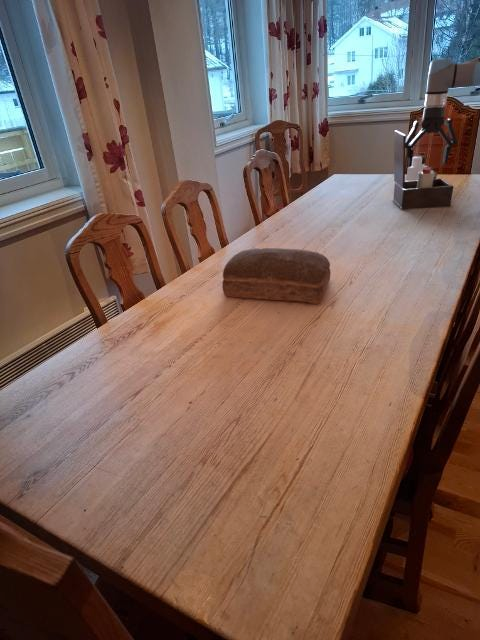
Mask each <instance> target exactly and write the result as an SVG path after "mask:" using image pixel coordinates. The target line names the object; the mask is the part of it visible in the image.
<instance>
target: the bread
mask: <svg viewBox="0 0 480 640" xmlns="http://www.w3.org/2000/svg"><path fill="white" fill-rule="evenodd" d="M330 267H331V262H330V260H329V259H328V257H326V255H324V254H322V253H320V252H317V251H311V250H305V249H299V248H297V249H296V248H282V247H281V248H280V247H264V248H256V247H255V248H252V249H251V248H250V249H245V250H241V251H238V253H236V254H234V255H233V256H232V257H231V258H230V259H229V260H228V261H227V263H226V264H225V265H224V268H223V271H222V279H223V280H222V292H223V294H224V296H226V297H233V298H241V299H242V298H243V299H255V300H256V299H258V300H270V301H289V302H305V303H309V304H320V303H321V301H322V300H323V297H324V294H325V292H326V288H327V286H328V284H329V282H330V279H331V268H330Z"/></svg>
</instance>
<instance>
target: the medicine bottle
mask: <svg viewBox="0 0 480 640" xmlns="http://www.w3.org/2000/svg"><path fill="white" fill-rule="evenodd" d="M425 167H429V166H428V165H426V157H425V155H415V156H414V155H413V158H412V166H408V167H407V170H406V176H405V181H414V180H418V173H419V172H420V171H421V169H422V168H425Z"/></svg>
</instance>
